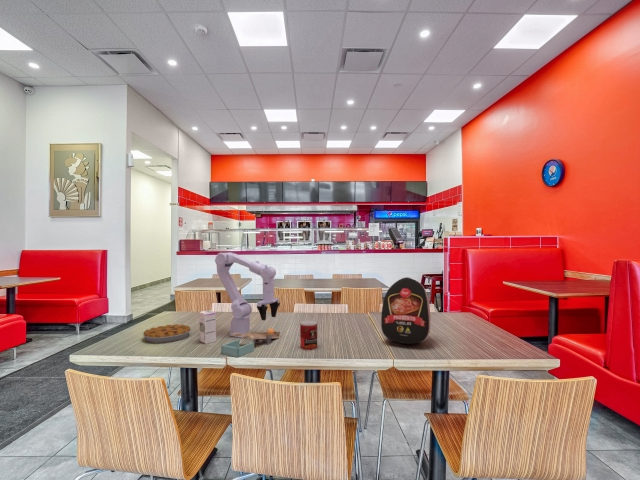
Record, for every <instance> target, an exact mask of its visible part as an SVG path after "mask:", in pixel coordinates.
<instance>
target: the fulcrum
mask: <svg viewBox="0 0 640 480" xmlns="http://www.w3.org/2000/svg"><path fill="white" fill-rule="evenodd" d="M252 342H254V344H261V345H266V346H267V345H271V344H273V341H272V338H271V336H267V337H266V339H253V340H252Z"/></svg>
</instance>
